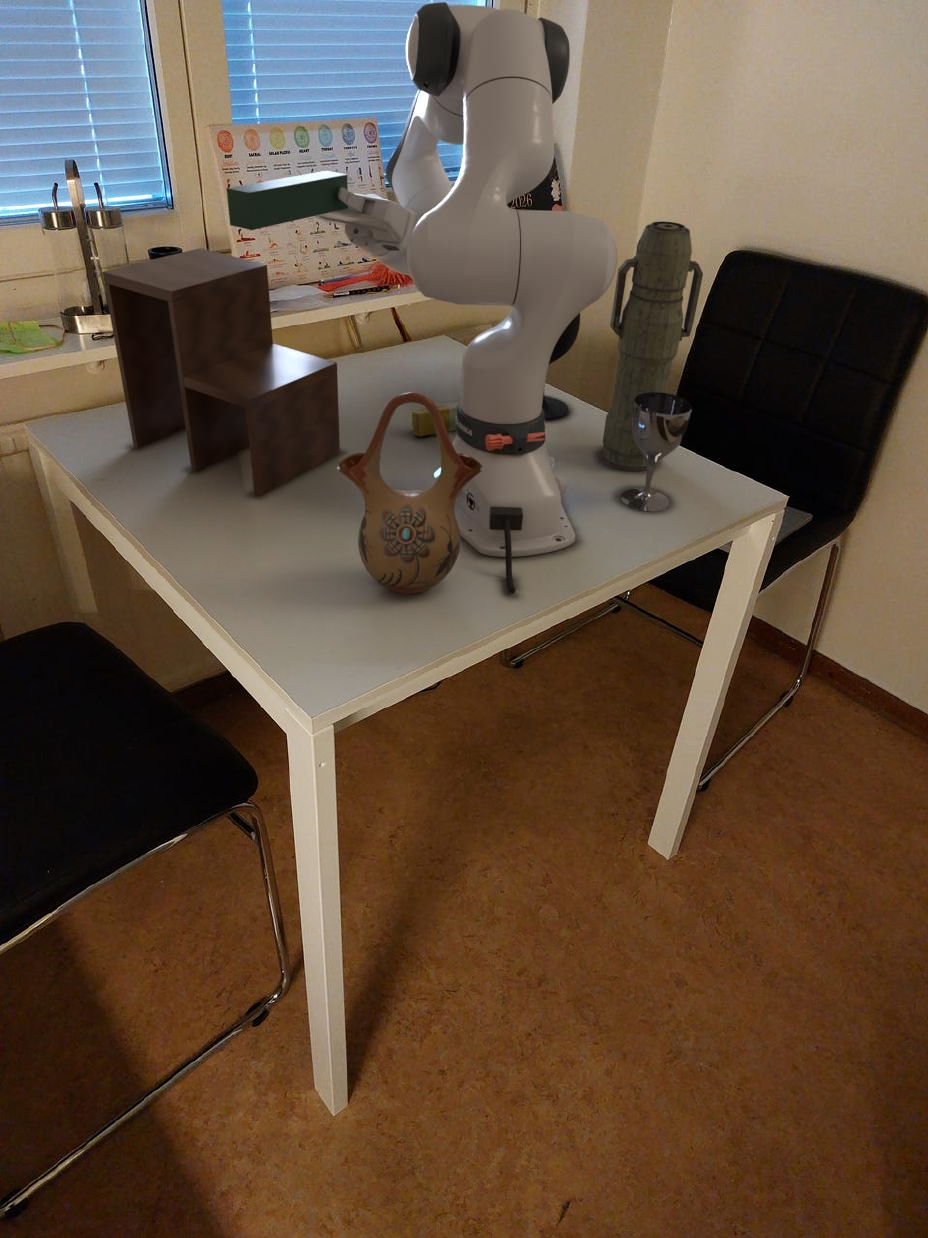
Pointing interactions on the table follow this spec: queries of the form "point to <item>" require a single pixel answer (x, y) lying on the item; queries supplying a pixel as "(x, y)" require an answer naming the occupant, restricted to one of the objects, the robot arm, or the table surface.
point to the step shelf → (219, 366)
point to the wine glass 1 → (551, 405)
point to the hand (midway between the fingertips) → (324, 188)
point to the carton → (284, 199)
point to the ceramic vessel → (409, 510)
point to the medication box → (424, 423)
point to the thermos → (648, 330)
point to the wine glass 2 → (656, 441)
